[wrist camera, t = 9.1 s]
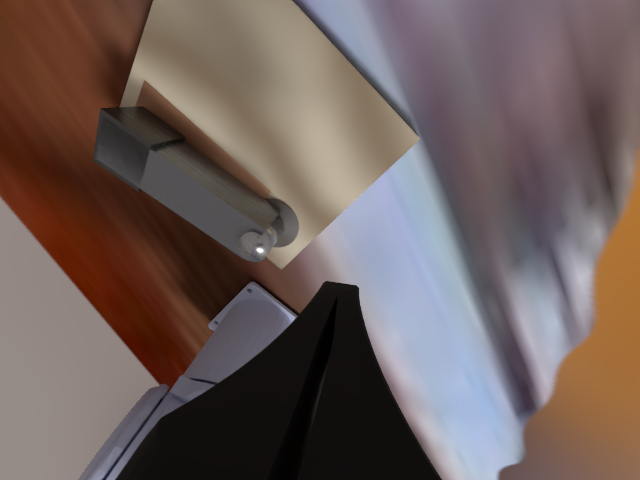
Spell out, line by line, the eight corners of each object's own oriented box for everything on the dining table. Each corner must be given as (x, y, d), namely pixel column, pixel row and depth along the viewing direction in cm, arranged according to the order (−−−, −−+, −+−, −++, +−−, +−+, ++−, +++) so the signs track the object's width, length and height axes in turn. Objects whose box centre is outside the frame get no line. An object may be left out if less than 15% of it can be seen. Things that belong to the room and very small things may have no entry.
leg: (294, 216, 19) (278, 239, 16) (271, 248, 20) (252, 274, 18) (143, 106, 17) (93, 108, 14) (132, 151, 19) (86, 162, 16)
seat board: (285, 261, 23) (280, 270, 22) (126, 128, 20) (109, 130, 19) (418, 135, 16) (420, 139, 15) (204, -96, 13) (185, -115, 12)
